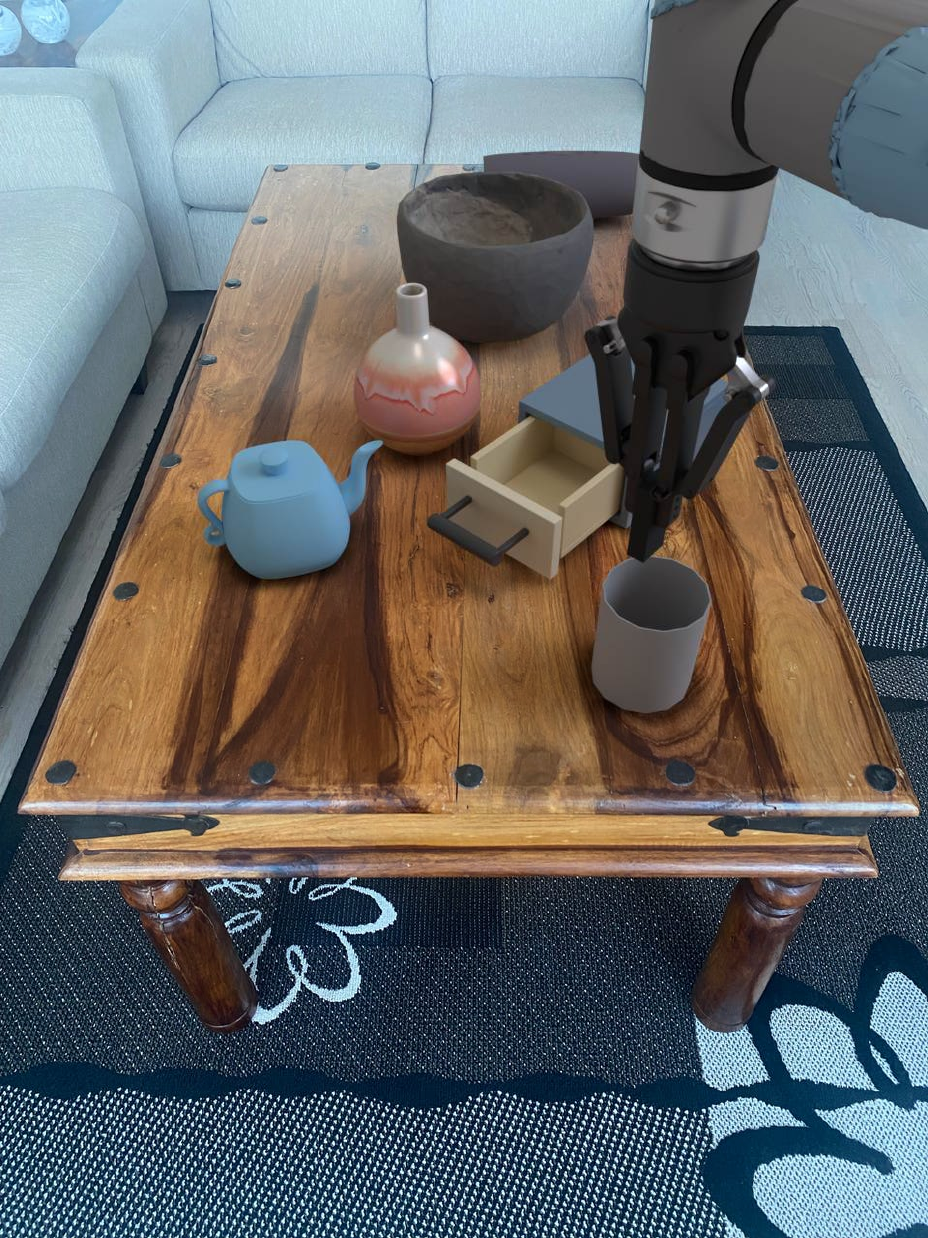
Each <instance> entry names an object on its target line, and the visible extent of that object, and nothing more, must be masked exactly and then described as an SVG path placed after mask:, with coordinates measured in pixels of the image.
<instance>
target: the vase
mask: <svg viewBox="0 0 928 1238" xmlns="http://www.w3.org/2000/svg"><path fill="white" fill-rule="evenodd" d="M395 302H396V303H395V306H396V307H395V309H396V322H397V323H396V327H394V328H392V329H391V330H389V331H387V332H385V333H384V334H383V335H381V336H380V337H378V338H377V339H376V340H375V341H374V342H373V343H372V344H371V345H370V346H369V348H367V350H366V351H365V353H364V354H363V356H362V357H361V360H360V361H359V363H358V366H357V368H356V371H355V375H354V380H353V381H354V382H353V392H352V393H353V394H352V395H353V404H354V409H355V412H356V416H357V418H358V420H359V422H360V423H361V426H362V427H363V428H364V429H365V430H366V432H367V433H368V434H369V435H370V436H371V437H372V438H373V439H374V440H375V441H378V440H381V441H383V444H382V445H383V446H385V447H387V448H389V449H391V450H394V451H395V452H399V453H401V454H404V455H408V456H416V457H421V456H430V455H433V454H437V453H438V452H441V451H443V450H444V449H446V448H448V447H450V446H452V445H453V444H455V443H457V442H458V441H459V440H460V439H461V438H463V437H464V436H465V435H466V434H467V433H468V431H469V430H470V429H471V427H472V426H473V425H474V423H475V421H476V419H477V417H478V415H479V413H480V407H481V402H482V387H481V380H480V379H481V378H480V374H479V372H478V370H477V367H476V364H475V362H474V360H473V358H472V356H471V355H470V354H469V352H468V351H467V349H466V348H465V347H464V346H463V345H462V344H461V343H460V342H459V341H458V340H457V339H456V338H455V337H452V336H450V335H448V334H447V333H445V332H443V331H441V330H440V329H438V328H437V327H435V326H434V325H433V326H432V325H430V324H431V323H430V322H429V311H428V297H427V289H426V288H425V287H424V286H423V285H421V284H418V283H406V282H405V283H403V284H401V285H399V286H398V287H397V288H396V290H395Z"/></svg>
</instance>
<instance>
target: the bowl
mask: <svg viewBox="0 0 928 1238" xmlns="http://www.w3.org/2000/svg"><path fill="white" fill-rule="evenodd" d="M594 231H595V230H594V220H593V218H592V215H591V212H590V209H589V206H588V204H587V202H586V200H585V198H584V197H583V196H582V194H581V193H580V192H578V191H577V190H575V189H573V188H571V187H569V186H567V185H565V184H562V183H560V182H558V181H555V180H553V179H549V178H545V177H541V176H538V175H533V174H525V173H521V172H484V171H474V172H462V173H455V174H445V175H440V176H436V177H434V178H433V179H430V180H428V181H426V182H423V183H420V184H419V185H418V186H416V187H415V188H414V189H412V190H410V191H409V192H407V193H406V194H405V195H404V197H403V198H402V199H401V201H400V202H399V203H398V208H397V214H396V232H397V233H396V234H397V240H398V241H397V242H398V248H399V254H400V262H401V269H402V272H403V276H404V280H405V284H406V283H418V284H421V285H423V286H424V287H425V288H426V289H427V297H428V311H429V323H430V324H432V325H433V327H435V328H437V329H439V330H441V331H443V332H445V333H447V334H448V335H450V336H451V337H453V338H454V339H458V340H461V341H464V342H465V341H466V342H472V343H476V344H497V343H507V342H517V341H521V340H524V339H527V338H530V337H532V336H535V335H537V334H540V333H541V332H543V331H545V330H547V329H548V328H549V327H551V326H552V325H553V324H555V323H556V322H557V321H558V320H561V318H562V317H563V316H564V314H565V313H566V312H567V311H568V310H569V309H570V307H571V306H572V304H573V302H574V300H575V299H576V296H577V295H578V293H579V290H580V288H581V286H582V283H583V280H584V278H585V276H586V273H587V270H588V266H589V264H590V259H591V256H592V251H593V247H594V240H595V239H594V238H595V232H594Z"/></svg>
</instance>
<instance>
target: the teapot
mask: <svg viewBox="0 0 928 1238" xmlns="http://www.w3.org/2000/svg"><path fill="white" fill-rule="evenodd" d="M382 445H383V441H381V440H378V441H377V440H373V441H370V442H367V443H365V444H363V445H361V446H360V447H358V448H357V449H356V450H355V452H354V453H353V456H352V458H351V463H350V472H349V475H348V476H347V478H346V479H344V480H343V481H342V482H340V483H338V480H337V479H336V477H335V476H334V475H333V473H332V471H331V470H330V468H329V466H327V464H326V462H325V461H324V460H323V459H322V457H321V456H320V455H319V453H317V451H316V450H315V448H313V447H312V446H311V445H310V444H309V443H307V442H305V441H302V440H293V439H292V440H282V441H275V442H269V443H264V444H259V445H255V446H251V447H247V448H244V449H242V450H240V451H239V452H237V453H236V454H235V455H234V456H233V458H232V461H231V463H230V466H229V468H228V473H227V477H226V478H217V479H213V480H211V481H209V482H207V483H206V484H204V485H202V486H201V488H200V490H198V493H197V498H196V502H197V507H198V509H199V511H200V512H201V515H202V516H203V517H204V518H205V519H206V521H207V522H208V523H209V525H207V526H206V527H205V529H204V530H203V538H204V540H205V542H206V543H207V544H208V545H209V546H213V547H221V546H224V545H226V547H227V549H228V551H229V553H230V555H231V556H232V558H233V559H234V560H235V562H236V563H237V564H238V565H239V566H240V568H242V569H243V570H244V571H246V572H247V573H248V574H250V575H252V576H253V577H256V578H258V579H262V580H279V579H284V578H292V577H297V576H302V575H307V574H311V573H315V572H318V571H321V570H324V569H327V568H329V567H331V566H333V565H334V564H335V563H336V562H337V561H339V559H340V558H341V557H342V555H343V553H344V552H345V550H346V548H347V546H348V544H349V543H348V542H349V537H350V532H351V520H350V516H351V515H352V514H354V513H355V512H356V511H357V510H358V509H359V508H360V506H361V505H362V503H363V500H364V499H365V495H366V488H367V466H368V462H369V460H370V458H371V456H372V455H373V454H374V453H375V452H377V450H378V449H379V448H380V447H382ZM218 493H223V494H222V500H221V518H219V517H218V516H217V514H215V512H214V511H213V510H212V508H211V507H210V506H209V504H208V499H209V498H210V497H211V496H213V495H215V494H218ZM216 532H217V534H213V533H216Z"/></svg>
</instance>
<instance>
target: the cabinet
mask: <svg viewBox="0 0 928 1238" xmlns="http://www.w3.org/2000/svg"><path fill="white" fill-rule="evenodd" d="M631 365H632V376H633V379H634V371H635V366H634V363H633V361H632V359H631ZM728 382H729V380H726V379H723V378H721V379H719V380H718V381H717V382H715V383H714V384H713V385H712V386H711V387H710V391H709V394H708V396H707V397H706V399H705V401H704V405H703V411H702V416H701V421H700V426H699V432H698V437H697V442H696V447H695V452H694V458H693V461H694V459H695V457H696V455H697V453H698V451H699V449H700V447H701V445H702V443H703V441H704V439H705V437H706V435H707V433H708V432H709V430H710V428H711V426H712V424H713V422H714V420H715V418H716V416H717V414H718V413H719V411H720V410H721V409H722V407H723V406H725V405H726V404H727V402H725V401H724V399H723V396H724V395H725V389H726V387H727V385H728ZM634 398H635V395H634ZM531 415H533V416H535V417H537V418H540V419H542V420H544V421H546V422H548V423H550V424H552V425H554V426H556V427H558V428H560V429H562V430H564V431H566V432H568V433H570V434H572V435H574V436H576V437H578V438H580V439H582V440H584V441H586V442H588V443H590V444H593V445H595V446H597V447H599V448H601V449H603V450H605V449H604V440H603V432H602V423H601V415H600V406H599V398H598V389H597V380H596V372H595V364H594V361H593V359H592V356H591V354H590V353H589V354H587V355H585V356H584V357H583V358H581V359H580V360H578V361H577V362H575V363H574V364H572V365H571V366H569V367H568V368H566V369H565V370H563V371H562V372H560V373H559V374H557V375H556V376H554V377H553V378H551V379H550V380H548V381H546V382H545V383H544V384H542V385H541V386H539V387H537V388H536V389H535V390H533V391H532V392H530V393H529V394H527V395H526V396H524V397H522V398H521V399H520V400H518V419H517V420H518V421H517V425H518V424H519V423H521V422H522V421H523V420H525V419H526V418H528V417H529V416H531ZM667 415H668V409H667V414H666V420H665V426H664V432H663V438H662V444H661V450H660V455H661V453H662V447H663V440H664V434H665V428H666V422H667ZM659 459H661V457H660V458H659ZM659 465H660V463H658V464H657V465H656V466H655V467H654V471H655V470H657V469H658V468H659ZM627 480H628V478H627V476H626V480H625V487H624V494H623V500H622V507H621V509H620V510H619V511H618V512H617V513H615V514H614V515H613V516H612V517H611V518H609V519H608V520H607V521H610V522H612V523H614V524H615V525H617V526H619V527H621V528H623V529H624V530H627V529H628V528H629V527H631V521H632V513H630V512H628V511H626V509H625V505H624V502H625V498H626V497H625V495H626V487H627Z"/></svg>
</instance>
